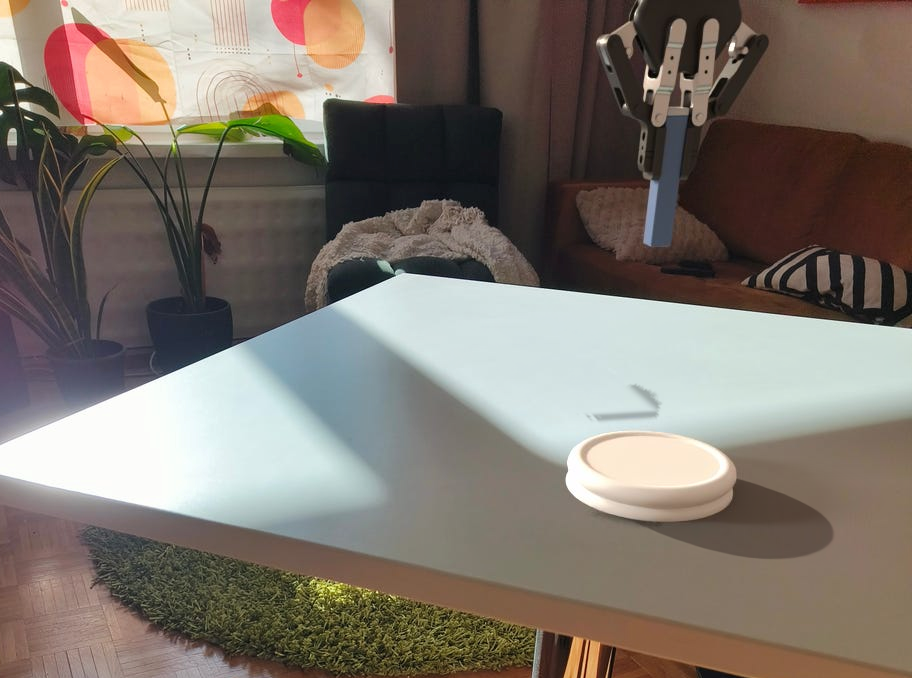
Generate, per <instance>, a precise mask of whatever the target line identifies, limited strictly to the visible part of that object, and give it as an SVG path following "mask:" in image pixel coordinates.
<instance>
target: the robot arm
mask: <svg viewBox="0 0 912 678" xmlns="http://www.w3.org/2000/svg"><path fill="white" fill-rule="evenodd" d="M630 10H631V11H630V12H629V16H628V21H627V22H625V23H624V24H623V25H621V26H619V27H618V28H617V29H615V30H614V31H613V32H611V33H610V34H609V33H607V34H601V35H599V37H598V38H597V40H596V44H595V45H596V46H595V47H596V50H597V52H598V55H599V58H600V61H601V64H602V66H603V70H604V71H605V75H606V76H607V79H608V83H609V85H610V87H611V90H612V93H613V95H614V98H615V101H616V103H617V106H618V108H619V111H620V113H621V114H622V115H623V116H626V117H628V118H631V119H633V120H635V121H637V122H638V123H639V125H640V136H639V137H640V138H639V147H638V149H639V150H638V156H637V168H638V171H640V172H642V177H643V179H645V180H647V181H651V180H659V179H660V177H661V170H662V162H663V154H664V146H665V138H666V130H667V128H664V127H663V124H664V123H665V121H666V117H667V112H668V107H670V106H669V105H670V101H671V95H672V92H673V91H674V90H675V88H676V87H675V86H676V81H677V75H678V74H679V73H680V74H679V75H680V76H679V89H680V92H681V96H680V97H681V98H680V107H685V108H689V114H688V115H687V116H688V120H687V127H686V133H685V141H684V148H683V155H682V163H681V170H680V178H679V179H680V180H679V181H681V180H682V181H683V180H686V181H687V180H688V178H689V176H690V172H694V170H695V169H696V166H697V163H698V156H699V150H700V143H701V135H702V130H703V127H704V125H705V124H706V123H707V122H708V121H711V120H712V119H715V118H718V117H724V116H726V115H727V114H728V112H729V111H730V109H731V108H732V106H733V105H734V103H735V101H736V100H737V98H738V96H740V93H741V91H742V90H743V88H744V86H746V83H747V82H748V80H749V79H750V76H751V75H752V74H753V72H754V71H755V69H756V67H757V65H758V64H759V62H760V61H761V59H762V57H763V56H764V54H765V52H766V51H767V49H768V47H769V44H770V39H769V37H768V36H767V34H764V33H756V32H755V31H754V30H753V29H752V28H751V27H749V25H747V24H746V23H745V22H744V21H743V19H744V12H743V8H742V4H741V0H635V2H634V5H633V6H632V8H631V9H630ZM634 40H635V43H636V45H637V47H638V49H639V51H640V53H641V55H642V57H643V59H644V61H645V64H646V66H645V70H644V71H645V72H644V79H643V85H642V87H643V90H644V91H643V94H642V91H641V89H640V88H641V87H640V85H639V83H638V80H637V78H636V75H635V72H634V69H633V66H632V64H631V61H630V59H631V58H632V56H633V55H634V46H633V45H634V44H633V43H634ZM730 42H731V43H730ZM729 43H730V45H729V48H728V57H729V59H728V61H727V62H726V64H725V65H724V67H723V68H722V70H721V71H720V74H719V75H718V77H717V79H716V80H715V82H714V73H715V72H714V71H715V62H716V61H717V60H718V58H719V57H720V56H721V54H722V53H723V51H724V50H725V48H726V47H727V46H728V44H729Z"/></svg>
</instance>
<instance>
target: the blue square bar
mask: <svg viewBox="0 0 912 678" xmlns="http://www.w3.org/2000/svg"><path fill="white" fill-rule="evenodd" d="M688 114H689V108H685V107H681V106H668V112H667V117H666V121H665V123H664V124H663V127H664V128H667V130H666V138H665V146H664V154H663V162H662V170H661V177H660V179H659V180H650V182H649V191H648V200H647V208H646V216H645V224H644V225H645V226H644V233H643V241H642V242H643V244H644V245H646V246H649V247H651V248H661V247H671V245H672V239H673V230H674V225H675V224H674V222H675V217H676V208H677V201H678V194H679V187H680V181H681V180H680V179H679V178H680V170H681V163H682V155H683V148H684V141H685V133H686V127H687V120H688V116H687V115H688Z"/></svg>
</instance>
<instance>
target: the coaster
mask: <svg viewBox="0 0 912 678" xmlns="http://www.w3.org/2000/svg"><path fill="white" fill-rule="evenodd" d="M567 470H568V471H567V473H566V477H565V484H566V487H567V489H568V491H569V492H570V493H571V494H572V495H573V496H574V498H575V499H577V500H579V501H580V502H581V503H583V504H586V505H587V506H589V507H591V508H594V509H595V510H597V511H600V512H603V513H606V514H610V515H613V516H617V517H621V518H625V519H629V520H635V521H636V520H637V521H644V522H655V523H656V522H658V523H660V522H661V523H675V522H688V521H694V520H700V519H704V518H707V517H711V516H713V515H715V514H717V513H720V512H721V511H723V510H724V509H726V508H727V507H728V506H729V505H730V504H731V502H732V501H733V498H734V497H733V496H734V491H733V489H734V488H733V487H734V486H735V484H736V482H737V477H738V476H737V469H736V466H735V464H734V462H733V461H732V459H730V458H729V456H728V455H726V454H725V453H724V452H723V451H721V450H720V449H718V448H717V447H715V446H713V445H711V444H708V443H706V442H705V441H702V440H699V439H695V438H691V437H689V436H684V435H680V434H676V433H675V434H674V433H670V432H669V433H668V432H661V431H653V430H652V431H651V430H620V431H612V432H607V433H601V434H598V435H595V436H591V437H589V438H587V439H584V440H583V441H581V442H580V443H579V444H577V445H575V446H574V447H573V449H572V450H571V451H570V454H569V455H568V458H567Z"/></svg>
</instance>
